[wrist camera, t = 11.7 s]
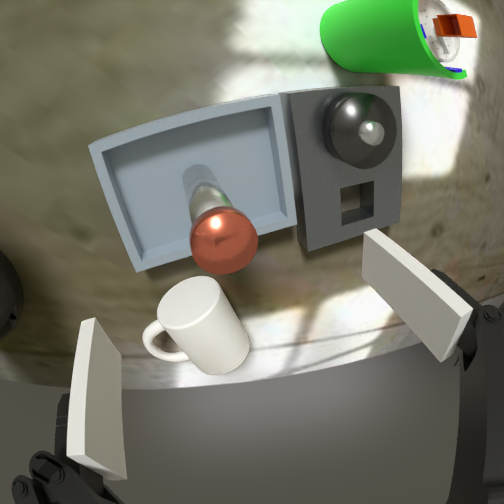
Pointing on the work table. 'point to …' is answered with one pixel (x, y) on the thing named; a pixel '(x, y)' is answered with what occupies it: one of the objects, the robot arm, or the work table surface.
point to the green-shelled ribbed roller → (395, 36)
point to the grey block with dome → (343, 159)
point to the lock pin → (216, 224)
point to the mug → (200, 327)
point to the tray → (185, 155)
